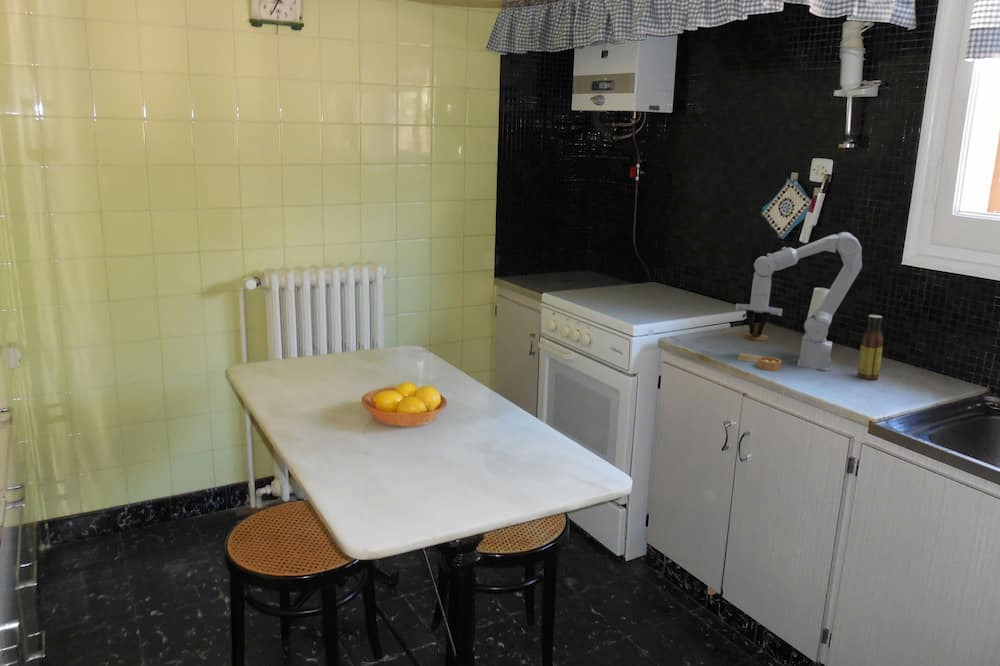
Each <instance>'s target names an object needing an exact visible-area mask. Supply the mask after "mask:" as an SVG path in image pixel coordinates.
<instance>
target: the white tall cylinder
mask: <svg viewBox="0 0 1000 666" xmlns="http://www.w3.org/2000/svg"><path fill="white" fill-rule="evenodd" d="M829 289H830V288H825V287H814V288H813V294H812V296H811V300H810V304H809V310H808V313H807V318H806V320H807V319H808V318H809V317H811V316H812V315H813V313H814V312H815V311H816V310H817V309H818V308H819V306H820V305H821V303H822V301H823V300H824V298H825V296H826V295H827V293H828V291H829Z"/></svg>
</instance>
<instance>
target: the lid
mask: <svg viewBox="0 0 1000 666" xmlns="http://www.w3.org/2000/svg"><path fill="white" fill-rule="evenodd" d="M760 324H761V323H758V322H754V323H753V331H752V334H750V331H749V332H743V333H742V334H741V338H742V339H744V340H747V341H750V342H758V343H761V342H762V343H763V342H767V341H769V336H768V335H766V334H763V333H762V334H761V335H759V330H760Z"/></svg>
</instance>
